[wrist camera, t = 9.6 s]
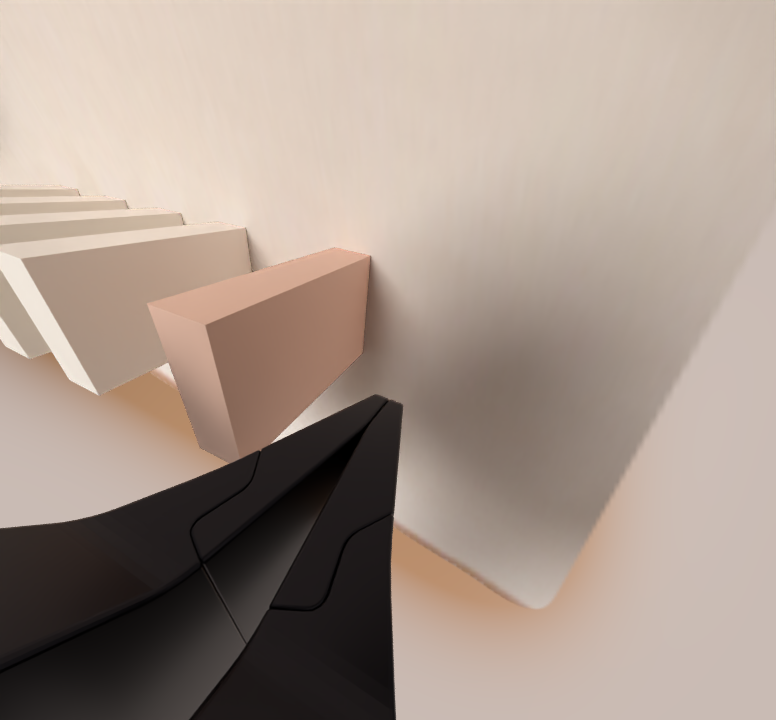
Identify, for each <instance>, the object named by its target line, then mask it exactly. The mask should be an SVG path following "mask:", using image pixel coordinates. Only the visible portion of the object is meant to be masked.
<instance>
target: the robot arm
mask: <svg viewBox="0 0 776 720" xmlns="http://www.w3.org/2000/svg"><path fill="white" fill-rule="evenodd" d="M402 414H403V404H401V403H399V402H396V401H393V400H388V398H385V397H383V396H380V395H373V396H370V397H368V398H366V399H364V400H362V401H360V402H358V403H356V404H354V405H352V406H350V407H347V408H345V409H343V410H341V411H339V412H337V413H335V414H333V415H331V416H329V417H327V418H325V419H322V420H320V421H318V422H316V423H314V424H312V425H310V426H308V427H306V428H304V429H302V430H299V431H297V432H295V433H293V434H291V435H289V436H287V437H285V438H283V439H281V440H279V441H277V442H274V443H272V444H270V445H268V446H266V447H264V448H262V449H261V451H260V450H257V451H255V452H253V453H251V454H249V455H247V456H245V457H243V458H241V459H238V460H236V461H234V462H232V463H230V464H228V465H225V466H223V467H221V468H219V469H216V470H214V471H211V472H209V473H206V474H204V475H202V476H199V477H197V478H194V479H192V480H189V481H187V482H184V483H181V484H179V485H176V486H174V487H171V488H168V489H166V490H163V491H161V492H158V493H155V494H153V495H150V496H148V497H145V498H142V499H140V500H137V501H135V502H132V503H130V504H127V505H125V506H122V507H119V508H116V509H113V510H111V511H108V512H105V513H102V514H98V515H95V516H91V517H87V518H83V519H78V520H73V521H67V522H62V523H52V524H43V525H31V526H20V527H11V528H0V720H396V711H395V710H396V709H395V685H394V659H393V631H392V604H391V551H392V533H393V522H394V517H393V516H394V508H395V496H396V484H397V473H398V461H399V449H400V438H401V426H402Z"/></svg>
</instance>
